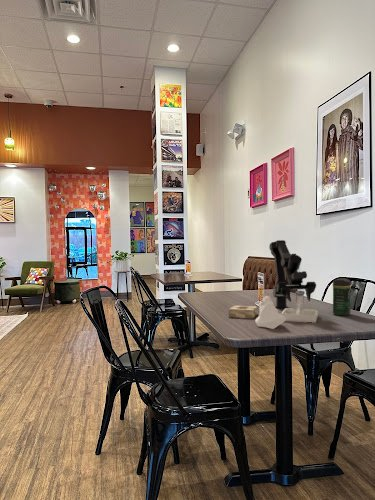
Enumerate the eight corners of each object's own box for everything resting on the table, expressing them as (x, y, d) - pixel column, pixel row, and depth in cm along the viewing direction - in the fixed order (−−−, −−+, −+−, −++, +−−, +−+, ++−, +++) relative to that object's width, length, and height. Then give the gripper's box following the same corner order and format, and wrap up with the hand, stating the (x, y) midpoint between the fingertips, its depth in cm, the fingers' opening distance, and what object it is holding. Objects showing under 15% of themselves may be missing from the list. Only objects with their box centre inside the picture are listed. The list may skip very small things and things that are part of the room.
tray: (285, 315, 190) (285, 308, 190) (317, 316, 184) (317, 309, 184) (281, 320, 175) (280, 313, 175) (315, 323, 169) (315, 315, 169)
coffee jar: (347, 316, 183) (347, 279, 182) (331, 315, 187) (330, 278, 187) (352, 313, 190) (351, 277, 190) (336, 312, 195) (335, 277, 195)
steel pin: (293, 316, 180) (293, 291, 180) (299, 315, 182) (299, 290, 182) (299, 318, 176) (299, 292, 176) (306, 317, 179) (306, 291, 178)
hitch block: (234, 312, 198) (234, 305, 198) (257, 314, 193) (257, 306, 193) (228, 316, 187) (228, 309, 187) (252, 318, 182) (252, 310, 182)
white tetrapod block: (258, 333, 158) (249, 300, 160) (257, 328, 173) (248, 298, 174) (287, 326, 157) (278, 293, 158) (283, 321, 171) (274, 292, 173)
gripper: (277, 266, 183) (284, 291, 173) (314, 265, 184) (323, 290, 173) (273, 280, 191) (279, 305, 181) (309, 279, 192) (317, 304, 181)
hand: (300, 301), depth 178 cm, fingers open, 9 cm apart
